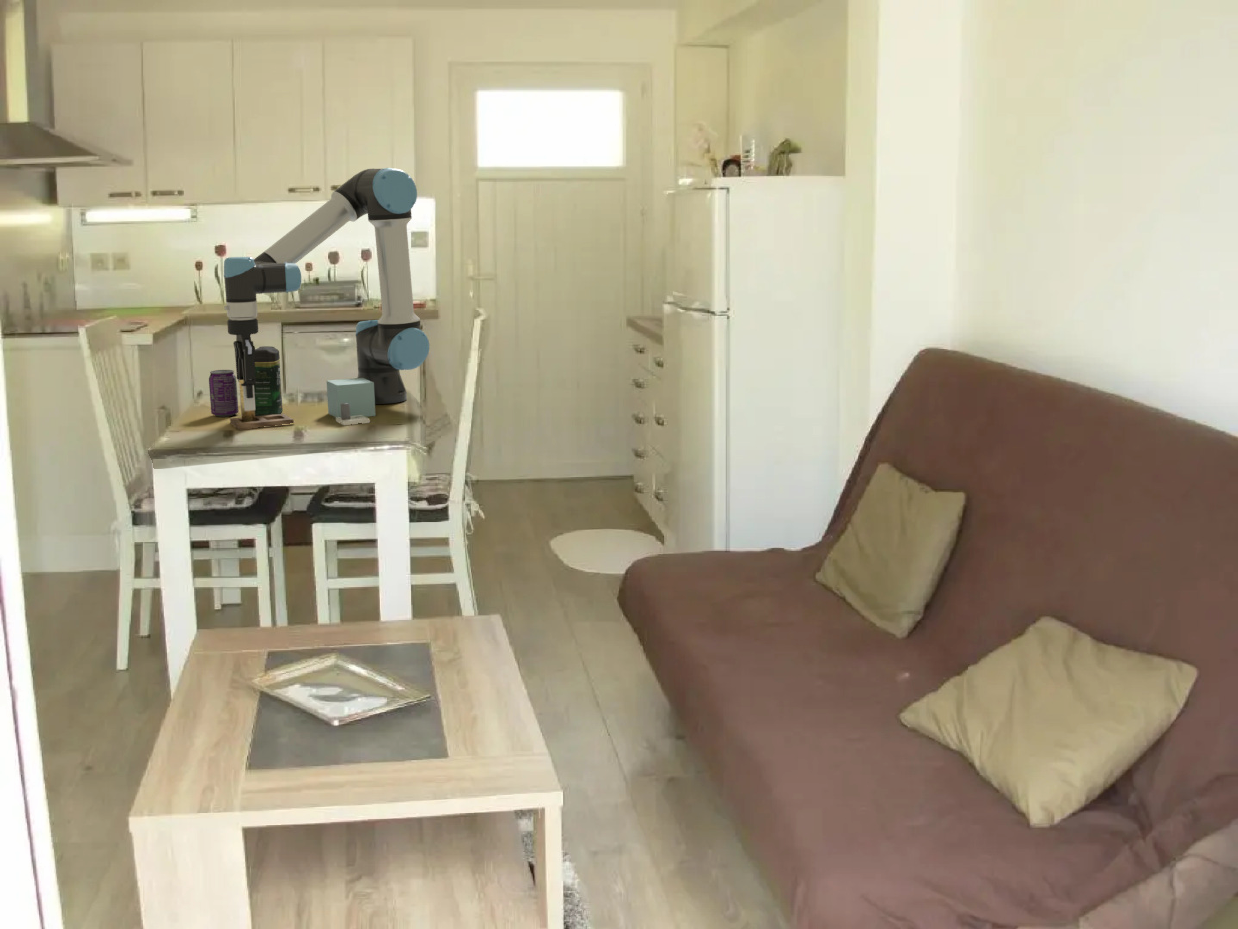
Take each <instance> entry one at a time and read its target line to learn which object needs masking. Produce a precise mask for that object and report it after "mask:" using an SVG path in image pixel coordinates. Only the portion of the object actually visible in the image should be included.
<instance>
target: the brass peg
mask: <svg viewBox="0 0 1238 929" xmlns="http://www.w3.org/2000/svg"><path fill="white" fill-rule="evenodd" d="M238 380H239V379H238ZM238 383H239V385H240V388H239V399H241V404H240V412H241V417H242V422H251V421H256V420H255V410H251V411H244V398H243V386H241V384H243V383H244V381H243V379H240V380H239V381H238Z"/></svg>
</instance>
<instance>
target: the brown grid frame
mask: <svg viewBox="0 0 1238 929" xmlns="http://www.w3.org/2000/svg"><path fill="white" fill-rule="evenodd" d="M229 420H230V425H232V426H233V427H234V426H235V427H234V428H236V429H237V430H252V428H253V429H259V428H258V427H264V426H274V427H276V426H275V425H282V424H290V423H294V418H292V417H290V416H289V415H286V414H285V413H281V414H275V415H264V416H255V420H256V421H251V422H242V416H241V417H233V418H230V417H229ZM294 424H295V423H294ZM264 428H265V427H264Z"/></svg>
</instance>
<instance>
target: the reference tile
mask: <svg viewBox="0 0 1238 929" xmlns="http://www.w3.org/2000/svg"><path fill="white" fill-rule="evenodd" d="M340 407H341V417H335V422H337V423H338V424H340V423H341V424H340V425H342V426H348V425H349V426H351V424H352V425H359V424H358V423H362V424H369V423H371V420H370V418H368V417H365V416H363V415H356V416H350V403H341V404H340Z"/></svg>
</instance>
